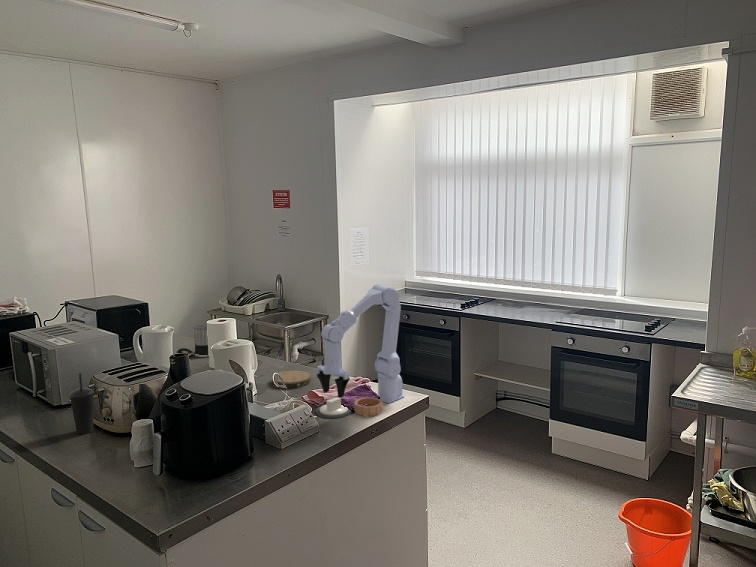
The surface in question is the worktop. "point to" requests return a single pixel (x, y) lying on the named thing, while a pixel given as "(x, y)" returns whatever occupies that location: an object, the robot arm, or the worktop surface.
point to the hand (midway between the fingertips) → (333, 394)
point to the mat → (331, 416)
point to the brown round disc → (293, 379)
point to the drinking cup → (82, 408)
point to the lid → (333, 407)
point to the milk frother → (199, 340)
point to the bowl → (368, 406)
